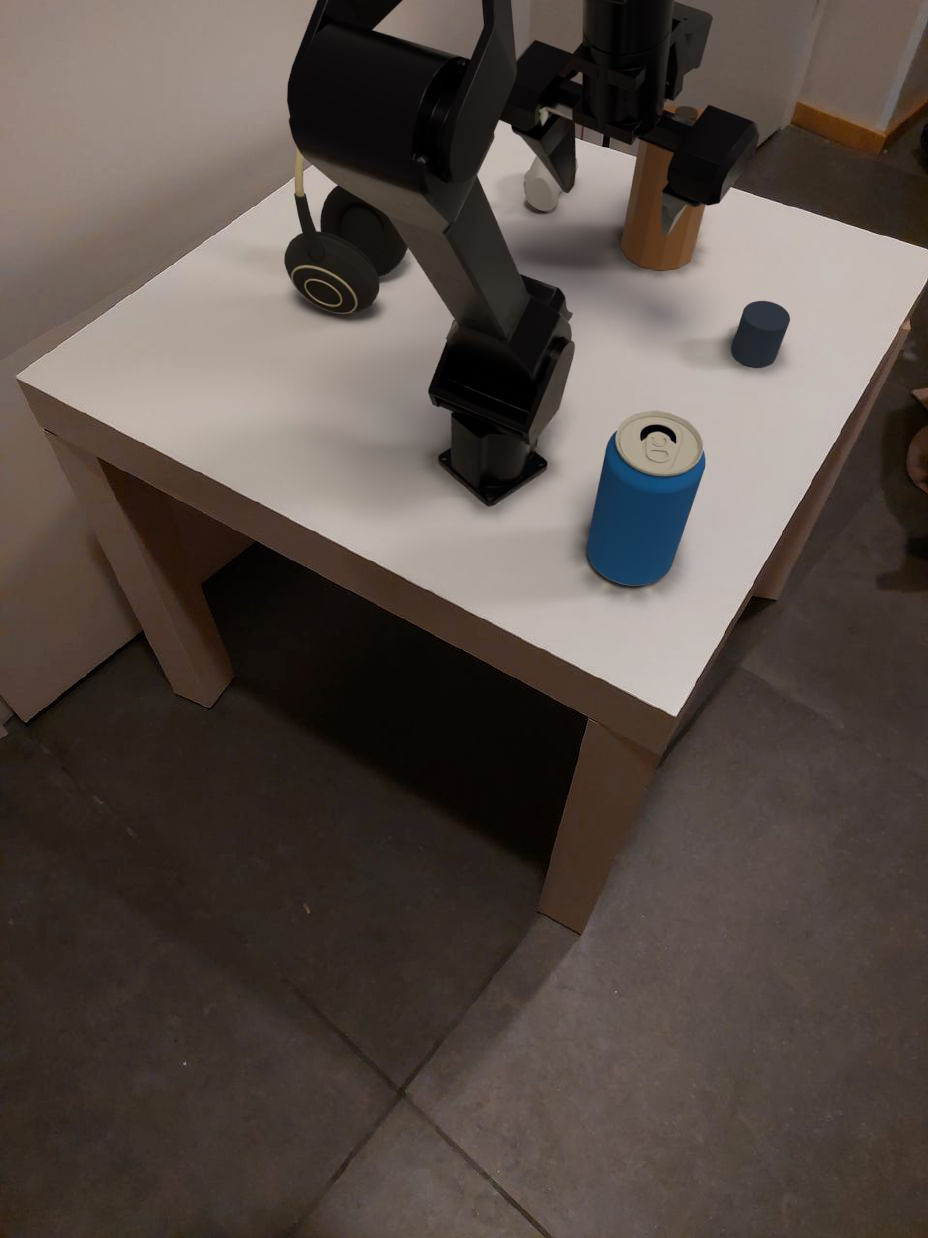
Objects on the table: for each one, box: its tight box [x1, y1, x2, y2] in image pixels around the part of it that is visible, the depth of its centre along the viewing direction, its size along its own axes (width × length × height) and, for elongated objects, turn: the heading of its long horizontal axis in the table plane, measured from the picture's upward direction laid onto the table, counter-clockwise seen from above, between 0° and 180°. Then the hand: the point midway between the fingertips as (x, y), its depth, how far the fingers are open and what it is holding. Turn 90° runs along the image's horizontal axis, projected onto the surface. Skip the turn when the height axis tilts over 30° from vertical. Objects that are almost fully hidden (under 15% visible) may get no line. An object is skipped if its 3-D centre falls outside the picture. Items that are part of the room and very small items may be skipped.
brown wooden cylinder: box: [620, 105, 707, 271], centre depth 84 cm, size 7×7×13 cm
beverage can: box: [586, 410, 706, 587], centre depth 63 cm, size 6×6×12 cm
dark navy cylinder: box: [730, 300, 791, 368], centre depth 79 cm, size 4×4×4 cm
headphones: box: [283, 147, 409, 315], centre depth 76 cm, size 9×15×20 cm, turn 160°
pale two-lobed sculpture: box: [524, 155, 579, 212], centre depth 93 cm, size 4×8×5 cm
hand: (617, 209), depth 72 cm, fingers open, 9 cm apart
